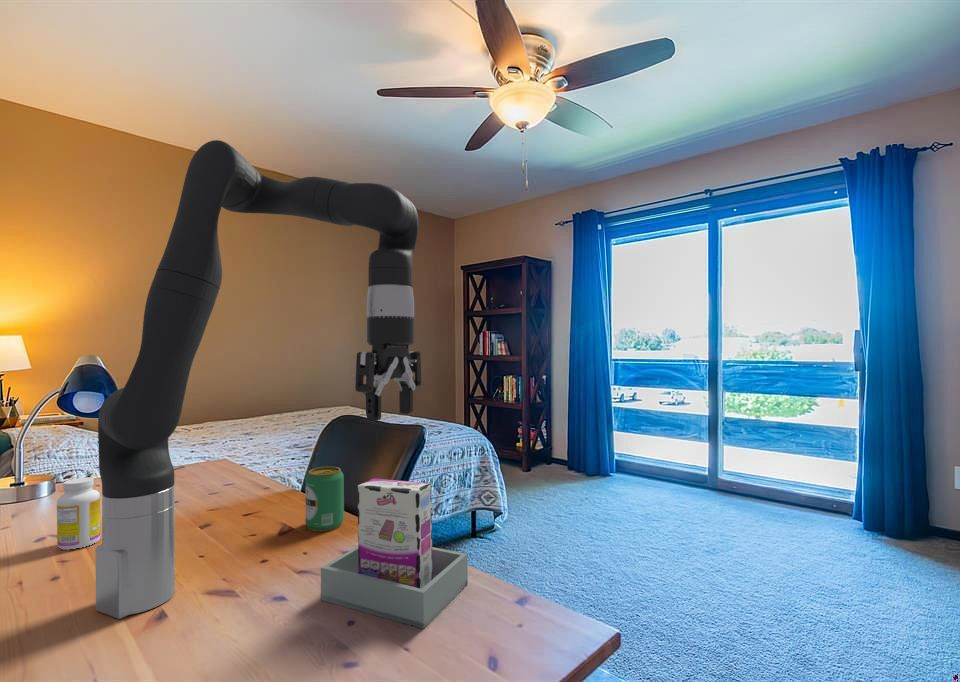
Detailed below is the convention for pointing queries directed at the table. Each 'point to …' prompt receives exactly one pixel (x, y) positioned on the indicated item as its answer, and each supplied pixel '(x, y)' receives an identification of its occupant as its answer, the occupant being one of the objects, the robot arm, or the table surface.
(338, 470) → the beverage can
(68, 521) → the supplement bottle
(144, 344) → the robot arm
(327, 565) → the bin
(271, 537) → the table surface
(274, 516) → the table surface
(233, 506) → the table surface
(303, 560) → the table surface
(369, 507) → the candy bar box
